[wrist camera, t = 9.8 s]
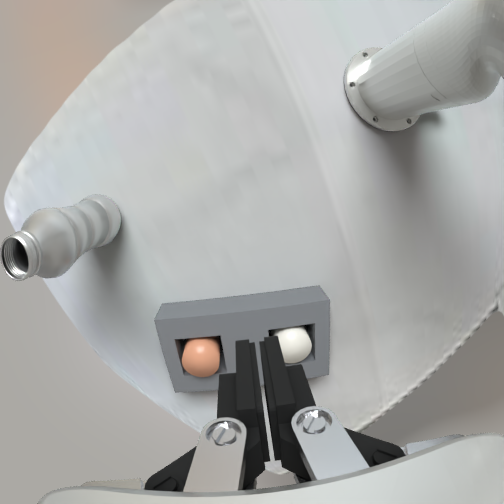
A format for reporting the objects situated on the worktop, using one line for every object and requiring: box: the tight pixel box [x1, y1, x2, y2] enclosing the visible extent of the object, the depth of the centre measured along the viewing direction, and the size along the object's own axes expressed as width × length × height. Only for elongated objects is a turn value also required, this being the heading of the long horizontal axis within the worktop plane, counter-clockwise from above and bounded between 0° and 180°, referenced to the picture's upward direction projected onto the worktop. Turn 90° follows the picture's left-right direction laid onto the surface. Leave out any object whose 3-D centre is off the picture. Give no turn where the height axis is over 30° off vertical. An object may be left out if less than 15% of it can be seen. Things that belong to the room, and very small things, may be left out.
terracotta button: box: [182, 336, 220, 377], centre depth 39 cm, size 5×5×5 cm
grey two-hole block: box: [154, 286, 330, 393], centre depth 41 cm, size 22×12×5 cm, turn 96°
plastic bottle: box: [0, 194, 121, 281], centre depth 28 cm, size 6×7×20 cm
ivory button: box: [271, 325, 312, 363], centre depth 41 cm, size 5×5×5 cm
